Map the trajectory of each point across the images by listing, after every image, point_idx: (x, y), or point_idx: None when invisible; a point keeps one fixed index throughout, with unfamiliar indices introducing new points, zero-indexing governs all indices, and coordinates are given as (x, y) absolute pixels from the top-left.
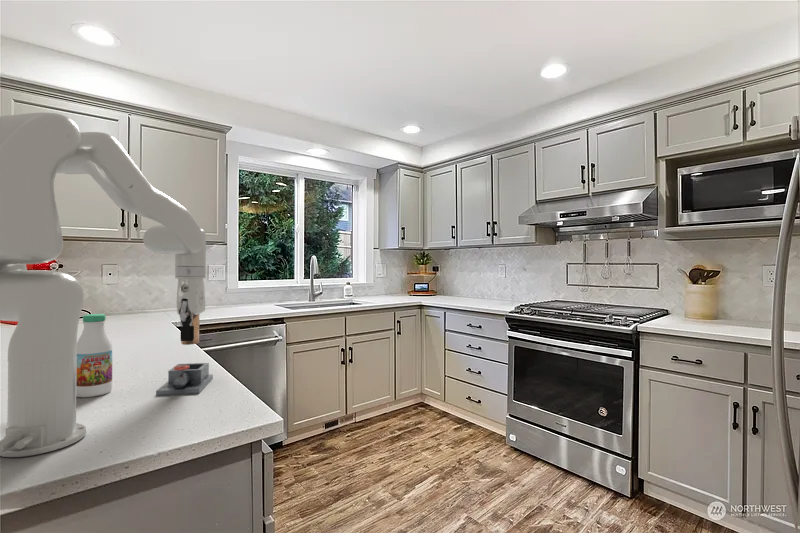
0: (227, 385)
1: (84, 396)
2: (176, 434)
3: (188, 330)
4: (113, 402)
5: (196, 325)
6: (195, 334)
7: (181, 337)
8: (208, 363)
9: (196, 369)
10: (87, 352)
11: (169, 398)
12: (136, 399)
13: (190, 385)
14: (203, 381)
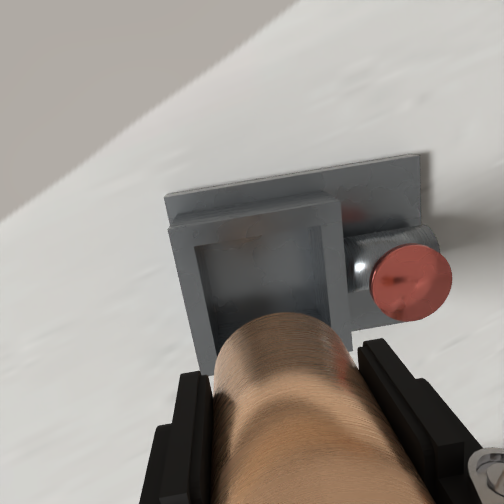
0: (287, 66)
1: None
2: None
3: (467, 436)
4: (465, 400)
5: (368, 442)
6: (344, 369)
7: None
8: (174, 227)
9: (327, 230)
10: None
11: (454, 246)
12: (446, 351)
13: (360, 219)
14: (298, 187)
